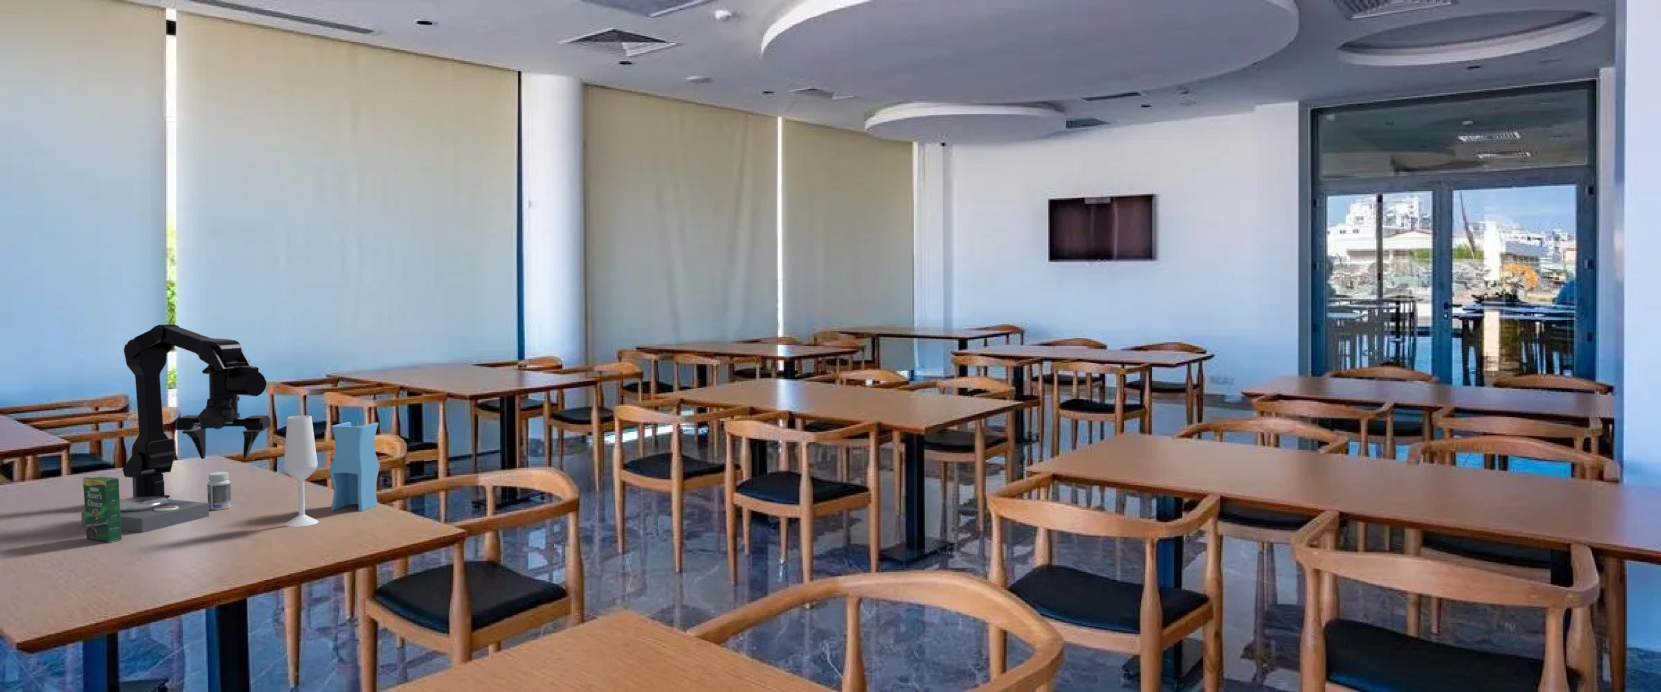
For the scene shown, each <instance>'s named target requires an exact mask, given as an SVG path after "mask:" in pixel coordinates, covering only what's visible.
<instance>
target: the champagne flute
mask: <svg viewBox="0 0 1661 692" xmlns="http://www.w3.org/2000/svg"><path fill="white" fill-rule="evenodd" d="M285 432H286V433H285V446H284V456H283V457H284V458H283V469H284V471H285V472H286V473H287V474H288V475H289V476H290V477H291V478H293V479H294V480H296V481H298V484H297V486H298V489H297V490H298V515H297V516H296V517H294V518H292V519H290V520H289V521H288V522H286V523H285V524H284V526H286V527H290V528H297V527H298V528H299V527H309V526H313V525H317V524H318V523H320V522H319V520H317V519H315V518H313V517H311V516H308V515H307V514H306V510H305V509H306V506H305V504H306V503H305V501H306V500H305V498H306V497H305V480H306V479H308V478H310V476H311V475H312V474H314V472H315V471H316V470H317V467H318V465H319V464H318V458H317V457H318V455H317V450H316V441H315V433H314V425H313V418H312V416H311V415H292V416H287V421H286V431H285Z"/></svg>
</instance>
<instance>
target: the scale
mask: <svg viewBox="0 0 1661 692" xmlns="http://www.w3.org/2000/svg"><path fill="white" fill-rule="evenodd" d="M206 517H210V509H209V503H208V502H202V501H190V500H180V499H170V498H167V505H165V506H161V507H157V508H154V509H149V510H142V511H131V512H120V518H121V531H127V532H135V533H136V532H137V533H145V532H150V531H153V530H159V529H163V528H165V527H166V528H167V527H171V526H173V525H178V524H182V523H187V522H191V521H195V520H199V519H203V518H206ZM81 526H83V527H86V519H85V510H84V511H81Z"/></svg>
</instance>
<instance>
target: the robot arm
mask: <svg viewBox="0 0 1661 692" xmlns="http://www.w3.org/2000/svg"><path fill="white" fill-rule="evenodd" d="M175 347H178V348H180V349H183V350H185V351H188V352H191V353H194V354H196V355H197V356H198V358H199V359H200V360H201V361H202V362H204V363H205V364H207V365H208V366H206V367H205V368H203V370H202V374H204V375H205V374H206V375H208V386H209V387H208V388H209V390H208V391H209V393H208V394H209V397H208V398H207V401H206V406H205V408H204V409H202V411H201V412H200V413H199V414H198V415H197V414H192V415H191V414H188V415H187V414H186V415H183V416H180V417H178V418H177V419H176V420H175V430H176V431H181V432H182V434H185V435H187V436H188V437H189V438H190V439H191V440H192V442H193V443H194V445H195V448H196V451H197V452H198V455H199V458H200V459H201V460H204V459H205V458H206V453H207V451H206V449H207V448H206V446H207V445H206V443H207V442H206V441H207V438H206V435H207V434H206V433H207V432H206V430H207V429H214V430H219V429H220V430H221V429H223V428H224V427H244V428H245V430H244V431H242V435H243V438H244V439H243V452H242V454H243V459H244V460H246V459H248V458H249V455H250V452H251V450H252V448H253V446H254V443H255V441H256V440H257V438H258V436H259V435H260V433H262V432H263V431H265V430H266V429H268V428H270V427H271V426H272V425H271V423H272V422H271V418H270V417H269V415H267V414H266V415H259V414H258V415H249V416H248V417H245V418H240V417H241V416H240V413H239V410H238V409H239V407H238V406H239V401H240V396H248V397H258V396H260V395H262V394H263V393H264V391H265V390H266V387H267V380H266V378H265V376H264V374H262V373H261V372H260V370H259V367H258V366H252V364H251V361H250V360H249V359H248V357H247V354H246V352H244V349H243V347H242V346H241V343H240V342H239V341H237V340H235V339H228V338H227V339H226V338H212V337H208V336H205V335H202V334H201V333H196V332H194V331H192V330H189V329H186V328H183V327H180V326H179V325H177V324H174V323H171V324H167V323H166V324H157V325H155V326H153V327H152V328H150V330H147V331H146V332H144V333H142V334H139V335H137V336H135V337H134V338H132V339H129V340H128V341H127V343H126V344H125V345H124V348H123V354H124V358H125V363H126V366H127V367H128V368H129V370H130V371H131V372H132V374H133V375H134V379H135V390H136V391H135V393H136V405H137V406H136V407H137V420H138V421H137V423H138V436H137V437H136V439H135V441H134V443H133V445H132V446H131V448H132V449H131V457H130V458H129V459H128V461H127V462H126V463H125V464H124V465H123V467H122V472H123V476H124V477H125V478H132V497H131V498H137V497H165V498H167V499H169V498H170V497H171V495H170V494H165V480H164V474H165V473H171V471H172V467H173V464H174V461H175V456H176V455H177V453H176V450H175V439H174V438H169V437H168V435H166V433H165V431H164V420H163V417H164V416H163V405H162V404H163V402H162V389H161V376H160V375H161V373H162V371H163V370H164V367H165V366H166V364H167V361H168V358H167V357H168V353H170V352H171V351H172V350H173V349H174V348H175ZM129 498H130V497H129ZM129 498H126V499H129Z"/></svg>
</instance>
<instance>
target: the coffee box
mask: <svg viewBox="0 0 1661 692" xmlns="http://www.w3.org/2000/svg"><path fill="white" fill-rule="evenodd" d="M119 481H120V480H119V477H108V476H99V475H93V476H86V477H83V478H82V485H83V499H84V501H83V502H84V511H85V519H86V526H85V531H86V539H88V540H94V541H95V540H96V541H101V542H104V543H113V542H118V541H120V540H122V530H121V518H120V500H121V498H120V482H119Z"/></svg>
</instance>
